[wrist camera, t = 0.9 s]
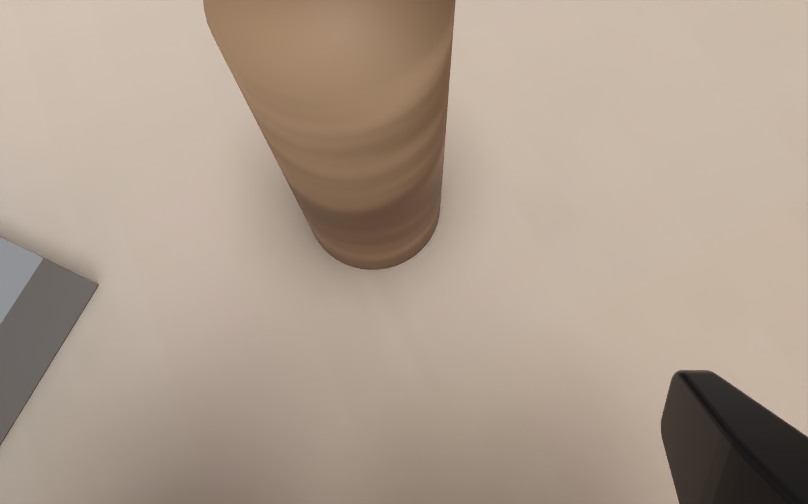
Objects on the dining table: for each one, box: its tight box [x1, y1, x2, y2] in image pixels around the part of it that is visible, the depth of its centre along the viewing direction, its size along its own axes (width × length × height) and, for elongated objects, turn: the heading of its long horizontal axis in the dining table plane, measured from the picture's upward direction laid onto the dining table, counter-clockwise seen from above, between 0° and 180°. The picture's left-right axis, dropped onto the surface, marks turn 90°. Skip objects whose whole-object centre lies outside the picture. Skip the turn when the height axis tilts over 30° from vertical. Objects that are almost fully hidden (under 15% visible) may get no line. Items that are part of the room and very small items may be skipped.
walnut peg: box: [203, 0, 455, 269], centre depth 18 cm, size 5×5×12 cm
